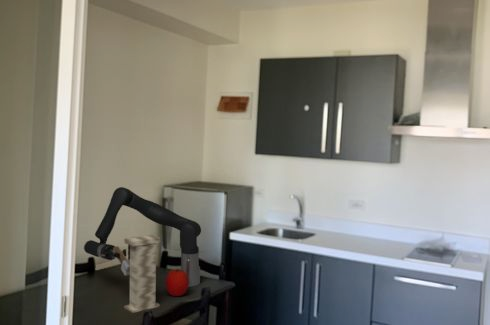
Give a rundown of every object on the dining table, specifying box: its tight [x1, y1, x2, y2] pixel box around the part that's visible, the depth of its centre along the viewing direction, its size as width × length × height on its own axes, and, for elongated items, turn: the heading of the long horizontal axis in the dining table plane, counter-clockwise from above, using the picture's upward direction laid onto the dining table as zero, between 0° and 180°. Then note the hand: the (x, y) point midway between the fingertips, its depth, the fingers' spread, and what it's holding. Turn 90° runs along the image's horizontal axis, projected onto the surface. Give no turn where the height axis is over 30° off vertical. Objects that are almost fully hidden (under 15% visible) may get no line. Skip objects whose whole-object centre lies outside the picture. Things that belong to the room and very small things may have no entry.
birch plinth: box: [123, 234, 161, 314], centre depth 238 cm, size 14×8×32 cm, turn 130°
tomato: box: [165, 268, 189, 297], centre depth 256 cm, size 12×12×13 cm
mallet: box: [113, 246, 130, 276], centre depth 250 cm, size 6×19×5 cm, turn 39°
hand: (122, 255), depth 251 cm, fingers closed on mallet, 2 cm apart
